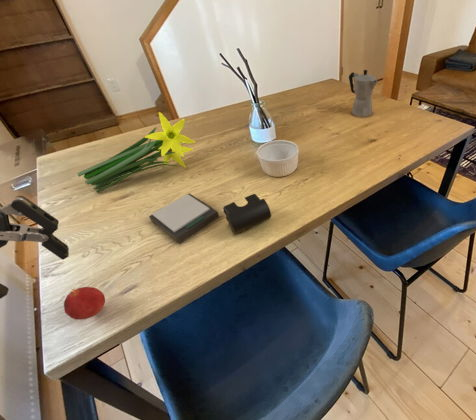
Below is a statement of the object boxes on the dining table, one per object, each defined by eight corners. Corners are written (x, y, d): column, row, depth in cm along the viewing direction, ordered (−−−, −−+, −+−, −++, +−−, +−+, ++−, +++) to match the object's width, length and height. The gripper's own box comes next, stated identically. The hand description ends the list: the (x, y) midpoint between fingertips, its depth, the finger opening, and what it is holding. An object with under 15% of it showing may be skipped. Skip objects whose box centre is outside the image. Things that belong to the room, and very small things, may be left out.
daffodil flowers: (101, 172, 93) (196, 125, 97) (117, 208, 90) (214, 159, 94) (54, 151, 76) (171, 96, 80) (72, 195, 74) (192, 136, 78)
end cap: (237, 241, 68) (231, 221, 64) (226, 224, 72) (220, 205, 68) (273, 223, 73) (269, 204, 68) (261, 209, 77) (256, 190, 72)
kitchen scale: (179, 243, 68) (175, 236, 66) (152, 221, 74) (147, 214, 72) (219, 216, 75) (216, 209, 73) (191, 198, 81) (188, 191, 79)
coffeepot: (380, 114, 122) (385, 70, 110) (366, 120, 118) (370, 76, 106) (354, 104, 131) (357, 63, 119) (340, 110, 126) (342, 67, 114)
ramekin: (270, 155, 98) (267, 137, 93) (305, 160, 95) (304, 142, 91) (253, 176, 88) (249, 157, 84) (292, 182, 86) (290, 163, 81)
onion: (80, 332, 52) (52, 312, 46) (77, 310, 55) (49, 289, 50) (115, 314, 54) (92, 292, 49) (110, 294, 58) (87, 271, 52)
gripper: (-204, 246, 27) (-24, 324, 37) (-33, 167, 32) (85, 254, 42) (-157, 218, 32) (-11, 293, 42) (-16, 154, 37) (84, 235, 47)
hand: (37, 274), depth 42 cm, fingers open, 8 cm apart
